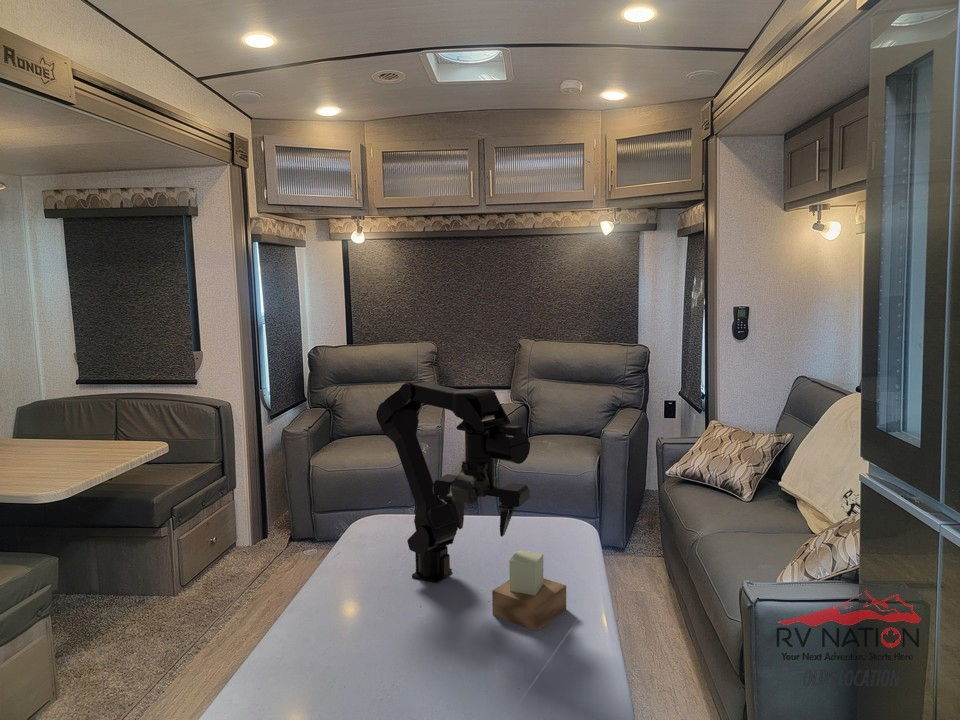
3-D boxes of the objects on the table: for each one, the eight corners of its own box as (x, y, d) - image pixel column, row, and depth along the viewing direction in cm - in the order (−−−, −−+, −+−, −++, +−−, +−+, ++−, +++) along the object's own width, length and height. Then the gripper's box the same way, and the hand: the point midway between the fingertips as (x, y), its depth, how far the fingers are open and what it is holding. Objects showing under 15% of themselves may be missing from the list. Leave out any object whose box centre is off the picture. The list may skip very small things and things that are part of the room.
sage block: (509, 590, 122) (509, 560, 122) (518, 579, 127) (518, 549, 126) (535, 595, 121) (535, 564, 120) (543, 583, 125) (543, 553, 124)
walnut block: (492, 615, 123) (492, 590, 123) (522, 595, 131) (522, 571, 131) (537, 632, 117) (537, 606, 117) (566, 610, 125) (566, 585, 124)
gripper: (416, 459, 125) (419, 538, 126) (506, 471, 116) (507, 555, 118) (446, 446, 135) (447, 520, 136) (530, 455, 126) (531, 534, 128)
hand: (481, 532), depth 129 cm, fingers open, 9 cm apart
